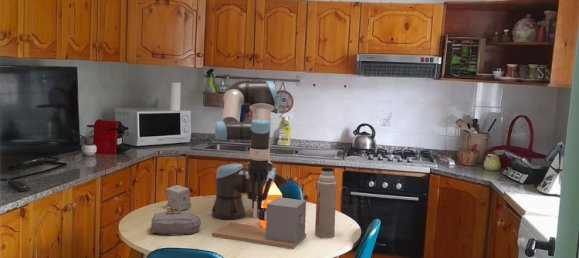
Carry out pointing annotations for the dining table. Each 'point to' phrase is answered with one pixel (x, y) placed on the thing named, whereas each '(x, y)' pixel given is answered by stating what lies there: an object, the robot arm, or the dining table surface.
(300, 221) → the shaft
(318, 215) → the thermos bottle
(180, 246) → the dining table surface
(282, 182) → the decorative mushroom
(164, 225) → the grey rounded bag
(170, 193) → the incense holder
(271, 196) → the orange juice
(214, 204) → the robot arm
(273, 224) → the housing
